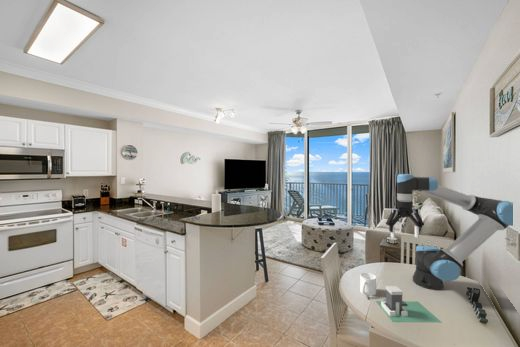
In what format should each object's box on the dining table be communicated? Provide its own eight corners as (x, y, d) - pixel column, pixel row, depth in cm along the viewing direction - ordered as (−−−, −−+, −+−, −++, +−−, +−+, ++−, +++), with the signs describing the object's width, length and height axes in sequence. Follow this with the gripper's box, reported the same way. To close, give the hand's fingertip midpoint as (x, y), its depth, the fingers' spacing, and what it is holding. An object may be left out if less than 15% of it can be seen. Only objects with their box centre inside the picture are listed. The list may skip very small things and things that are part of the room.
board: (417, 303, 116) (417, 298, 116) (441, 324, 100) (441, 318, 100) (375, 303, 117) (375, 297, 117) (392, 324, 101) (392, 318, 101)
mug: (370, 302, 118) (370, 283, 118) (355, 296, 124) (355, 278, 124) (378, 293, 126) (378, 275, 126) (363, 288, 132) (363, 271, 132)
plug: (396, 307, 111) (396, 286, 111) (403, 315, 106) (403, 292, 106) (385, 307, 112) (385, 286, 111) (392, 315, 106) (392, 292, 106)
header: (397, 305, 113) (397, 301, 113) (407, 316, 105) (407, 311, 105) (381, 305, 113) (381, 301, 113) (390, 316, 105) (390, 311, 105)
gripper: (422, 199, 130) (422, 235, 130) (379, 200, 131) (379, 235, 131) (431, 201, 123) (431, 239, 123) (386, 201, 123) (386, 239, 124)
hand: (404, 237), depth 127 cm, fingers open, 13 cm apart
